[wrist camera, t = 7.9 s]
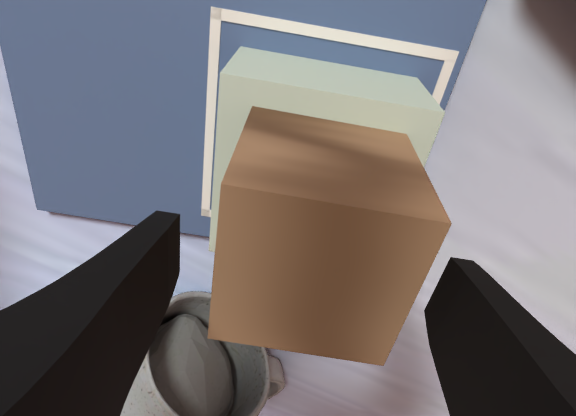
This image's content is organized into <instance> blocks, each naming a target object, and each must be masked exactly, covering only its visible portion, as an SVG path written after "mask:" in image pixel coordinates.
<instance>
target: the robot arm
mask: <svg viewBox="0 0 576 416" xmlns="http://www.w3.org/2000/svg"><path fill="white" fill-rule="evenodd" d="M179 271H180V214H176V213H170V212H164V211H158V210H157V211H155V212H154V213H152V214H151V215H149V216H148V217H147V218H145V219H144V220H143V221H141V222H140V223H139V224H137V225H136V226H135V227H134V228H132V229H131V230H130V231H128V232H127V233H126V234H124V235H123V236H122V237H120V238H119V239H117V240H116V241H115V242H113V243H112V244H110V245H109V246H108V247H106V248H105V249H103V250H102V251H101V252H99V253H98V254H96V255H95V256H94V257H92V258H91V259H89V260H88V261H86V262H85V263H83V264H81V265H80V266H78V267H77V268H75V269H74V270H72V271H71V272H69V273H68V274H66V275H64V276H63V277H61V278H60V279H58V280H56V281H55V282H53V283H51V284H50V285H48V286H46V287H44V288H43V289H41V290H39V291H37V292H35V293H33V294H32V295H30V296H28V297H26V298H24V299H22V300H20V301H19V302H17V303H15V304H13V305H11V306H9V307H7V308H5V309H3V310H0V416H120V415H121V412H122V409H123V407H124V404H125V401H126V399H127V396H128V394H129V392H130V389H131V387H132V384H133V382H134V380H135V378H136V376H137V374H138V371H139V369H140V367H141V365H142V363H143V361H144V359H145V356H146V354H147V352H148V350H149V348H150V346H151V344H152V342H153V339H154V337H155V335H156V333H157V331H158V329H159V327H160V324H161V322H162V320H163V318H164V316H165V313H166V311H167V309H168V307H169V304H170V301H171V298H172V295H173V292H174V289H175V286H176V282H177V279H178V276H179ZM424 312H425V319H426V327H427V333H428V339H429V345H430V349H431V353H432V356H433V360H434V363H435V367H436V370H437V374H438V377H439V380H440V384H441V387H442V390H443V394H444V397H445V400H446V404H447V407H448V410H449V414H450V416H576V354H574V353H573V352H572V351H571V350H570V349H569V348H567V347H566V346H565V345H564V344H563V343H562V342H560V341H559V340H558V339H557V338H556V337H555V336H554V335H553V334H551V333H550V332H549V331H548V330H547V329H546V328H545V327H544V326H543V325H542V324H541V323H539V322H538V321H537V320H536V319H535V318H534V317H533V316H532V315H531V314H530V313H529V312H528V311H527V310H526V309H524V308H523V307H522V306H521V305H520V304H519V303H518V302H517V301H516V300H515V299H514V298H513V297H512V296H511V295H510V294H509V293H508V292H507V291H506V290H505V289H504V288H503V287H502V286H500V285H499V284H498V283H497V282H496V281H495V280H494V279H493V278H492V277H491V276H490V275H489V274H488V273H487V272H486V271H484V270H483V269H482V268H481V267H480V266H479V265H478V264H476V263H475V262H474V261H472V260H465V259H459V258H453V257H451V258H450V260H449V262H448V264H447V266H446V268H445V270H444V272H443V274H442V276H441V278H440V280H439V282H438V284H437V286H436V288H435V290H434V292H433V294H432V296H431V298H430V300H429V302H428V304H427V306H426V308H425V310H424Z"/></svg>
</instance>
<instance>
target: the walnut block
mask: <svg viewBox="0 0 576 416" xmlns="http://www.w3.org/2000/svg"><path fill="white" fill-rule="evenodd" d="M451 224H452V223H451V221H450V219H449V217H448V215H447V213H446V211H445V209H444V207H443V205H442V203H441V201H440V199H439V197H438V195H437V193H436V191H435V189H434V187H433V185H432V183H431V181H430V179H429V177H428V175H427V173H426V171H425V169H424V167H423V165H422V163H421V161H420V159H419V157H418V155H417V153H416V151H415V149H414V147H413V145H412V143H411V141H410V139H409V137H408V135H407V134H404V133H399V132H393V131H388V130H382V129H377V128H371V127H366V126H360V125H355V124H349V123H344V122H338V121H332V120H327V119H321V118H316V117H310V116H305V115H299V114H294V113H288V112H283V111H277V110H272V109H266V108H261V107H255V106H252V108H251V110H250V113H249V115H248V118H247V120H246V122H245V125H244V127H243V130H242V132H241V135H240V137H239V140H238V142H237V145H236V147H235V150H234V152H233V155H232V157H231V160H230V162H229V165H228V167H227V170H226V172H225V175H224V177H223V180H222V182H221V189H220V200H219V212H218V223H217V235H216V246H215V258H214V270H213V281H212V293H211V304H210V316H209V327H208V339H214V340H221V341H227V342H234V343H240V344H246V345H253V346H259V347H266V348H272V349H279V350H285V351H291V352H298V353H304V354H311V355H317V356H323V357H330V358H336V359H343V360H349V361H356V362H362V363H368V364H375V365H381V366H384V363H385V361H386V359H387V357H388V355H389V353H390V351H391V349H392V347H393V345H394V343H395V341H396V338H397V336H398V334H399V332H400V330H401V328H402V326H403V324H404V322H405V320H406V318H407V316H408V313H409V311H410V309H411V307H412V305H413V303H414V301H415V299H416V297H417V295H418V293H419V291H420V288H421V286H422V284H423V282H424V280H425V278H426V276H427V274H428V272H429V270H430V268H431V266H432V263H433V261H434V259H435V257H436V255H437V253H438V251H439V249H440V247H441V245H442V243H443V241H444V238H445V236H446V234H447V232H448V230H449V228H450V226H451Z"/></svg>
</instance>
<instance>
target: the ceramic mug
mask: <svg viewBox="0 0 576 416" xmlns="http://www.w3.org/2000/svg"><path fill="white" fill-rule="evenodd" d="M210 304H211V293H208V292H199V291H190V292H185V293H181V294H178V295H176V296H173V297H172V298H171V301H170V304H169V307H168V309H167V311H166V313H165V316H164V318H163V320H162V322H161V324H160V327H159V329H158V331H157V333H156V335H155V337H154V339H153V342H152V344H151V346H150V348H149V350H148V352H147V354H146V356H145V359H144V361H143V363H142V365H141V367H140V369H139V371H138V374H137V376H136V378H135V380H134V382H133V384H132V387H131V389H130V392H129V394H128V396H127V399H126V401H125V404H124V407H123V409H122V412H121V415H120V416H258V414H259V413H260V411H261V410H262V408H263V407H264V405H265V403H266V401H267V399H270V398H271V397H273V396H275V395H276V394H278V393H279V392H280V391H281V390H283V388H284V386H285V380H284V375H283V371H282V366H281V363H280V361H279V360H278V359H277V358H275V357H272V356H269V355H267V352H266V348H265V347H259V346H253V345H246V344H240V343H234V342H227V341H221V340H214V339H208V327H209V316H210Z"/></svg>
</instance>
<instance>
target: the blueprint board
mask: <svg viewBox="0 0 576 416" xmlns="http://www.w3.org/2000/svg"><path fill="white" fill-rule="evenodd" d="M486 1H487V0H0V46H1V51H2V55H3V60H4V64H5V69H6V73H7V78H8V82H9V87H10V91H11V95H12V100H13V104H14V109H15V113H16V118H17V122H18V127H19V131H20V136H21V140H22V145H23V149H24V154H25V158H26V163H27V167H28V172H29V176H30V181H31V185H32V190H33V194H34V199H35V203H36V208H37V210H43V211H49V212H55V213H62V214H68V215H74V216H81V217H87V218H93V219H99V220H106V221H112V222H118V223H125V224H131V225H137V224H139V223H140V222H141V221H143V220H144V219H145V218H147V217H148V216H149V215H151V214H152V213H154V212H155V211H157V210H158V211H164V212H170V213H176V214H180V232H181V233H187V234H194V235H200V236H206V237H210V222H211V206H212V191H213V175H214V159H215V143H216V127H217V111H218V95H219V80H220V72H221V71H222V70H223V68H224V67H225V66H226V64H227V63H228V62H229V60H230V59H231V58H232V57H233V55H234V54H235V53H236V51H237V50H238V49H239V47H240V46H242V47H248V48H253V49H259V50H265V51H270V52H276V53H282V54H287V55H293V56H298V57H304V58H310V59H315V60H321V61H327V62H332V63H338V64H343V65H349V66H355V67H360V68H366V69H372V70H377V71H383V72H388V73H394V74H400V75H405V76H411V77H417V78H418V79H419V80H420V82H421V83H422V84H423V85H424V87H425V88H426V89H427V90H428V92H429V93H430V94H431V95H432V97H433V98H434V99H435V100H436V102H437V103H438V104H439V105H440V107H441V108H442V109H443V110H445V108H446V105H447V102H448V100H449V97H450V95H451V92H452V89H453V87H454V84H455V82H456V79H457V76H458V74H459V71H460V68H461V66H462V63H463V61H464V58H465V55H466V53H467V50H468V48H469V45H470V42H471V40H472V37H473V35H474V32H475V29H476V27H477V24H478V21H479V19H480V16H481V14H482V11H483V8H484V6H485V3H486Z"/></svg>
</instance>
